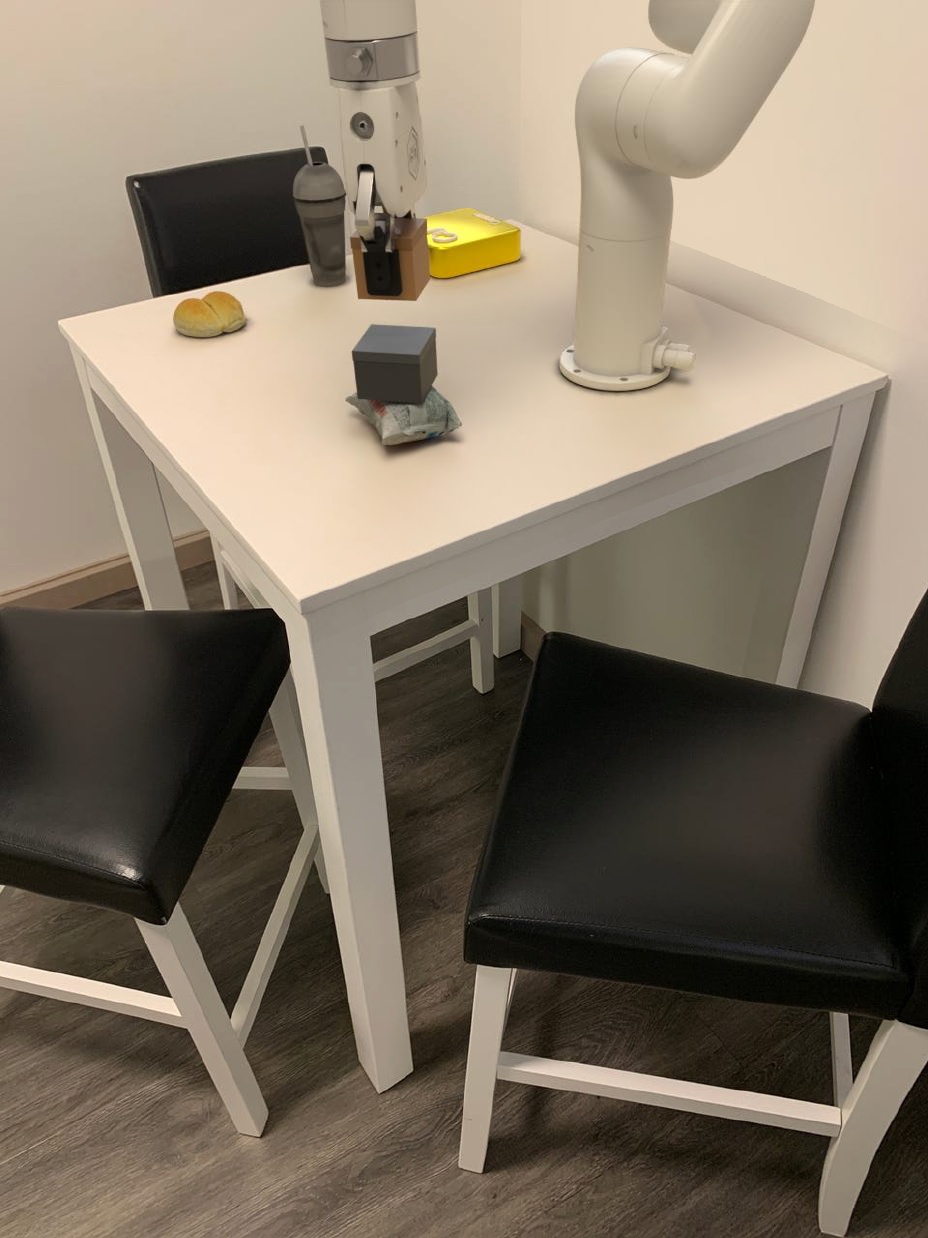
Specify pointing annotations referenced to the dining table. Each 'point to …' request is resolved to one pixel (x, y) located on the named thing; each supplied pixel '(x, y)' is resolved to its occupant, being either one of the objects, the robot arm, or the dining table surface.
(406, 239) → the kraft box
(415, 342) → the charcoal box
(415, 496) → the dining table surface
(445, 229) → the element tile
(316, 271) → the beverage cup
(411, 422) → the packaged food
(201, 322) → the bread roll
